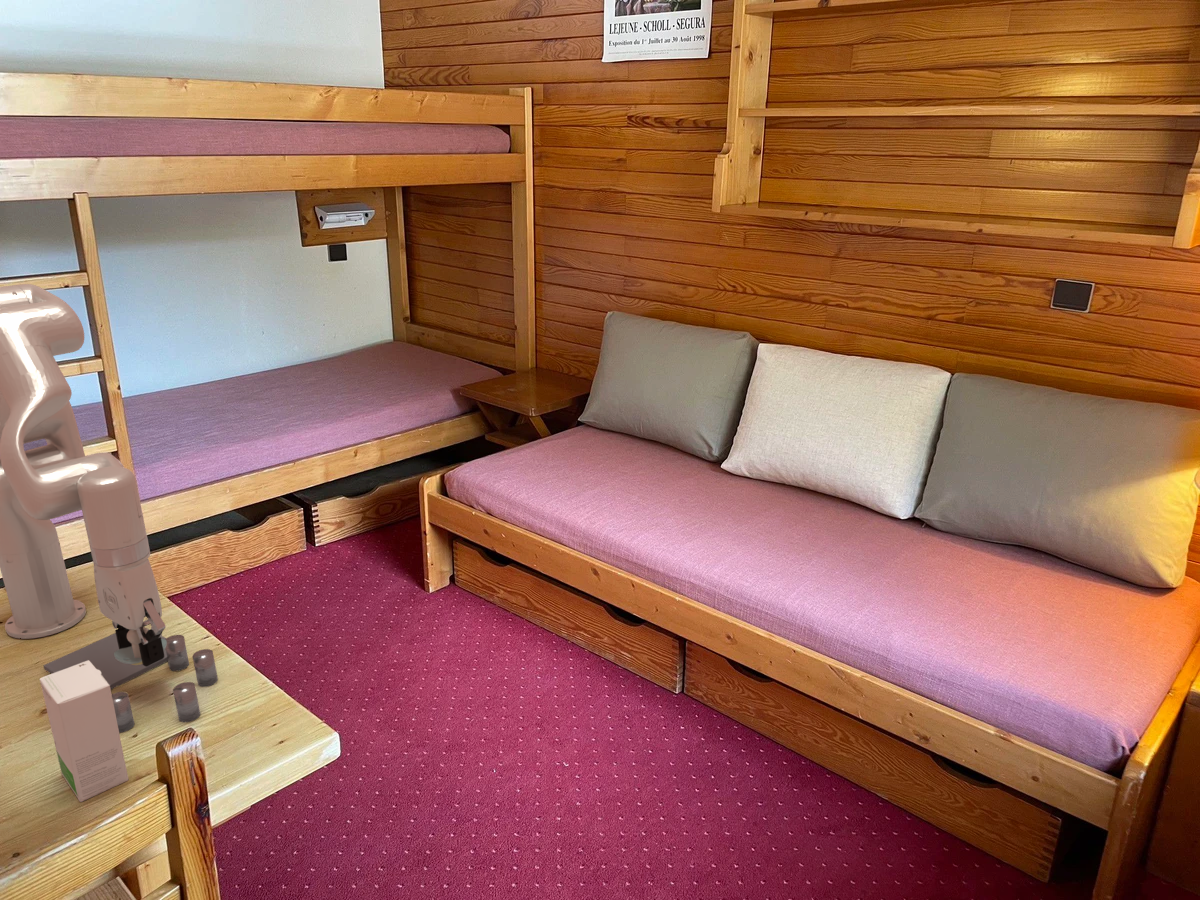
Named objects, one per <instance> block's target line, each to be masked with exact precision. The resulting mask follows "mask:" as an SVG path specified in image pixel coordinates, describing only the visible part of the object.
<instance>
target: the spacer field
mask: <svg viewBox="0 0 1200 900" xmlns="http://www.w3.org/2000/svg"><path fill="white" fill-rule="evenodd" d="M165 638H166V639H165V640H166V641H167V646H166V648H165V649H166V654H167V659H168V661H167V663H168V668H169V670H170V671H172V672H179V671H180V672H181V671H183V670H185V669H187V668H189V666H190V659H189V657H188V650H187V646H186V640H185V636H184V635H182V634H174V635H171V636H167V637H165ZM191 657H192V660H193V666H194V672H195V676H196V677H195V678H196V681H197V686H199V687H201V688H202V687H204V688H205V687H206V688H207V687H210V686H213V685H215V684H216V683H217V682H218V681H219V676H218V674H217V673H218V672H217V666H216V661H215V657H214V652H213V650H212V649H209V648H205V649H204V648H203V649H200V650H197V651H196V652H194V653H193V654H192V656H191ZM172 693H173V697H174V703H175V706H176V710H177V711H176V712H177V717H178V720H179V722H181V723H190V722H193V721H195V720H197V719H199V717H200V716H201V709H200V705H199V699H198V693H197V690H196V684H195V683H194V682H191V681H184V682H181V683H178V684H177V685H175V686H174V687H173V689H172ZM111 694H112V699H113V704H114V709H115V714H116V719H117V724H118V729H119V734H122V733H126V732H128V731H130V730H131V729H132V728H134V726H135V718H134V714H133V711H132V705H131V702H130V697H129V693H128V692H127V691H126V692H125V691H119V692H115V693H111Z"/></svg>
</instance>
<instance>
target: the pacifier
mask: <svg viewBox="0 0 1200 900" xmlns="http://www.w3.org/2000/svg"><path fill="white" fill-rule="evenodd" d="M143 629H144V632H145V634H146V633H147V631H148V629H149V628H147V627H146V626H145V627H143ZM127 639H128V641H129V642H130V643H132V646H131V647H127V648H122V649H119V650H117V651H116V652H115V653H114V656H115V658H116V659H117V660H118V661H120V662H122V663H126V664H132V665H140V664H142V659H141V654H140V649H139V643H141V641H140V638H139V636H138V633H137V630H129V631H128V633H127ZM161 641H162V646H163V651H164V650H165V648H166V646H167V641H166V640H165V639H161Z"/></svg>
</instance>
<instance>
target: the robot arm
mask: <svg viewBox="0 0 1200 900" xmlns="http://www.w3.org/2000/svg"><path fill="white" fill-rule="evenodd" d="M84 331H85V330H84V327H83V323H82V321H81V319H80V317H79V316H78V314H77V313H76V312H75V310H74V309H73V308H72V307H71V306H70V305H69V304H68V303H67V302H66V301H64V300H63V299H62V298H60V297H59V296H57V295H55V294H53V293H51V292H50V291H47V290H46V289H44V288H43V287H40V286H38V285H37V284H30V283H22V284H21V283H20V284H13V285H4V286H0V573H1V576H2V580H3V585H4V588H5V591H6V595H7V598H8V602H9V606H10V609H11V614H12V615H11V616H10V617H9V618H8V619H7V620H6V622H5V623H4V624H5V625H4V628H5V632H6V634H7V635H8V636H10V637H12V638H16V639H20V638H21V639H23V640H25V639H26V640H28V639H29V640H30V639H38V638H43V637H48V636H52V635H54V634H57V633H61V632H63V631H66V630H67V629H69V628H72V627H73V626H75V625H77V623H79V622H80V621H81V620H83V618H84V617H85V615H86V613H87V609H86V605H85V603H83V602H82V601H81V600H78V599H74V598H73V593H72V588H71V585H70V581H69V576H68V572H67V568H66V564H65V560H64V559H65V558H64V556H63V551H62V547H61V544H60V541H59V536H58V531H57V528H56V526H55V524H54V523H53V522H52V520H53V519H56V518H60V517H63V516H67V515H70V514H73V513H76V512H79V511H82V512H81V513H82V516H83V517H82V518H83V522H84V526H85V530H86V535H87V539H88V544H89V548H90V552H91V553H90V554H91V558H92V563H93V575H94V583H95V591H96V596H97V603H98V607H99V611H100V613H101V614H102V615H103V616H104V617H106V618H107V619H109V620H110V621H111V622H112V627H113V629H115V630H114V633H116V637H117V642H118V647H119V649H122V648H127V647H131V646H132V643H130V642H129V641H128V639H127V633H128V631H129V630H137V633H138V636H139V638H140V641H141V643H139V649H140V654H141V659H142V664H143V665H144V666H146V667H147V666H149V665H151V664H153V663H155V662H157V661H159V660H161V659H163V658H164V651H163V646H162V641H161V637H162V636H163V631H164V630H166V624H165V622H164V620H163V619H162V616H163V615H162V614H163V608H162V603H161V602H162V601H161V597H160V594H159V589H158V585H157V581H156V578H155V575H154V571H153V568H152V565H151V563H150V560H149V558H150V557H151V551H150V546H149V545H150V544H149V539H148V534H147V529H146V525H145V520H144V518H145V517H144V513H143V509H142V503H141V497H140V493H139V488H138V484H137V478H136V475H135V473H134V472H133V471H132V470H131V469H129V468H127V467H125V466H124V464H123V463H122V462H121V461H120V460H119V458H116V457H115V456H114V455H113V454H112V453H109V452H97V453H91V454H87V455H85V454H86V453H85V450H84V445H83V442H82V439H81V435H80V432H79V428H78V427H79V426H78V425H77V424H78V423H77V420H76V415H75V413H74V409H73V407H72V404H71V402H70V400H71V398H72V395H73V394H72V388H71V386H70V384H69V383H68V380H66V378H65V375H64V374H63V372H62V370H61V369H60V366H59V365H58V363H57V361H56V359H55V356H61V355H65V354H71V353H76V352H77V351H79V350H80V349H82V347H83V346H84V343H85V332H84ZM42 440H45V441H46V445H42V446H39V447H38V446H37V447H34V448H31V449H27V450H25V447H24V444H29V443H32V442H36V441H42ZM145 618H146V619H145ZM149 625H150V626H151V627H150V629H149V630H148V631H147V633H146V634H145V632H144V629H143V627H145V628H146V627H147V626H149Z"/></svg>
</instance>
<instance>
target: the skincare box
mask: <svg viewBox="0 0 1200 900" xmlns="http://www.w3.org/2000/svg"><path fill="white" fill-rule="evenodd" d="M39 682H40V686H41V691H42V695H43V699H44V704H45V708H46V712H47V718H48V721H49V725H50V730H51V733H52V736H53V737H52V739H53V742H54V747H55V751H56V756H57V760H58V763H59V768H60V774H61V775H62V777H63V778H64V780H65V782H66V783H67V784H68V786H69V787H70V789H71V791H73V794H75V796H76V798H77V799H78V802H80V803H82V802H84V801H87V800H88V799H91V798H93V797H95V796H97V795H99V794H102V793H104V792H106V791H108V790H110V789H113V788H115V787H117V786H119V785H121V784H123V783H126V782H127V781H129V775H128V769H127V765H126V761H125V757H124V755H125V754H124V750H123V746H122V745H123V744H122V740H121V735H120V734H121V733H119V729H118V724H117V719H116V714H115V709H114V704H113V699H112V694H113V693H112V689H110V685H109V684H108V683H107V681H106V680H105V679H104V677H103V676H102V675H101V671H100V670H97V669H96V668H95V667H94V665H93V664H92V663H91V662H90V661H89V660H88V661H85V662H82V663H80V664H77V665H74V666H72V667H69V668H66V669H64V670H61V671H58V672H55V673H53V674H50V673H49V674H48V675H44V676H42V677H41V678H39Z"/></svg>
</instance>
